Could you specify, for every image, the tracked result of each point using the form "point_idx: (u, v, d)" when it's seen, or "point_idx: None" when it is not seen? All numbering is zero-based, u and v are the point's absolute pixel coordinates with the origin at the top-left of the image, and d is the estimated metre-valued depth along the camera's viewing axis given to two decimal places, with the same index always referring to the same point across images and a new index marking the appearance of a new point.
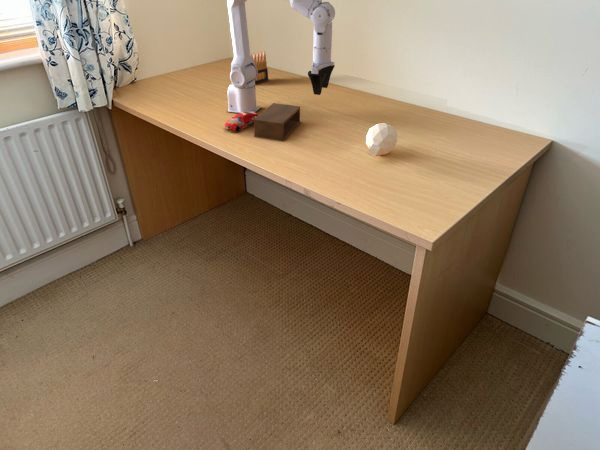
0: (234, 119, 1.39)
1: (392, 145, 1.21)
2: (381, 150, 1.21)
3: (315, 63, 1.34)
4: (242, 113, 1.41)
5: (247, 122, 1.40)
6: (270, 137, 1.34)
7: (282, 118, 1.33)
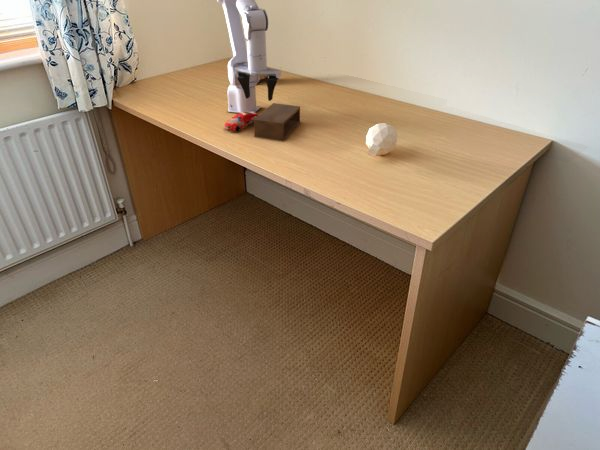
0: (234, 119, 1.39)
1: (392, 145, 1.21)
2: (381, 150, 1.21)
3: None
4: (242, 113, 1.41)
5: (247, 122, 1.40)
6: (270, 137, 1.34)
7: (282, 118, 1.33)
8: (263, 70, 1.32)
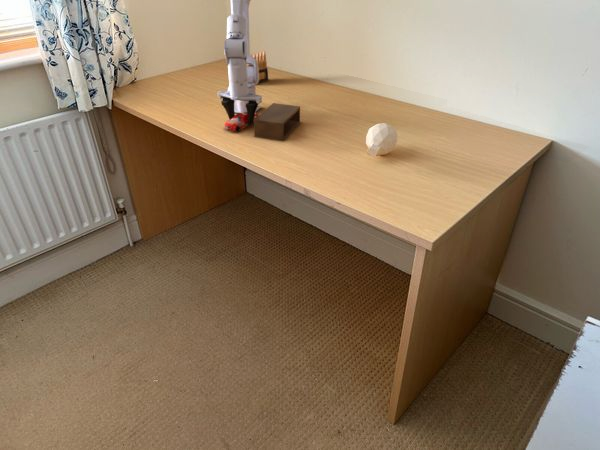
0: (234, 119, 1.39)
1: (392, 145, 1.21)
2: (381, 150, 1.21)
3: None
4: (242, 113, 1.41)
5: (247, 122, 1.40)
6: (270, 137, 1.34)
7: (282, 118, 1.33)
8: (244, 95, 1.35)
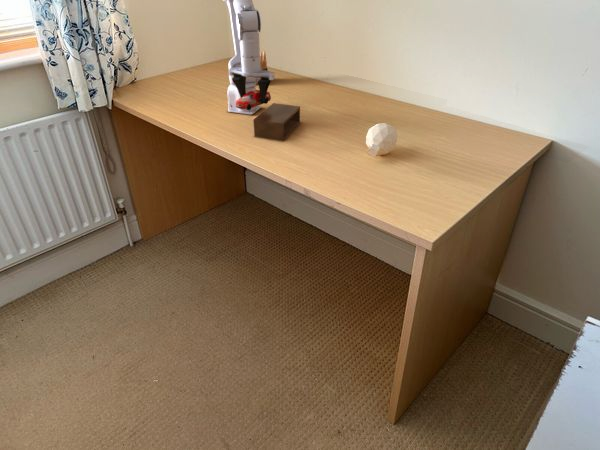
0: (245, 97, 1.34)
1: (392, 145, 1.21)
2: (381, 150, 1.21)
3: None
4: (254, 91, 1.36)
5: (259, 100, 1.35)
6: (270, 137, 1.34)
7: (282, 118, 1.33)
8: (256, 72, 1.29)
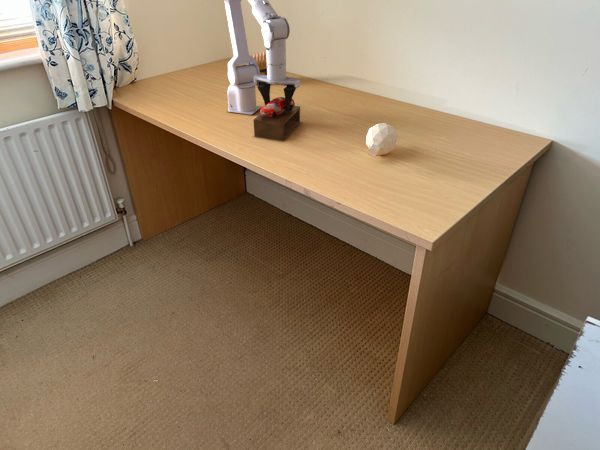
0: (270, 104, 1.34)
1: (392, 145, 1.21)
2: (381, 150, 1.21)
3: None
4: (278, 98, 1.35)
5: (284, 108, 1.35)
6: (270, 137, 1.34)
7: (282, 118, 1.33)
8: (282, 79, 1.29)
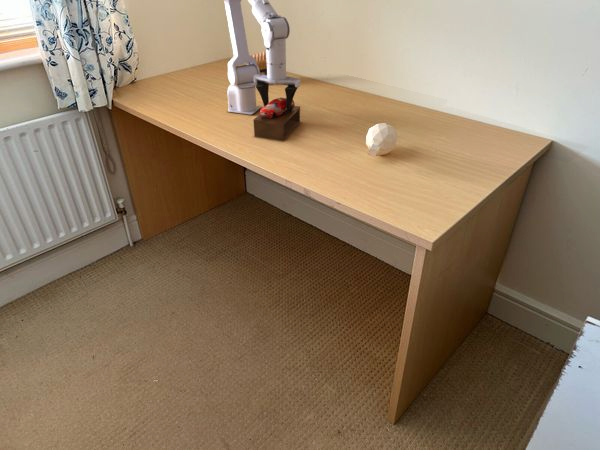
0: (270, 105, 1.34)
1: (392, 145, 1.21)
2: (381, 150, 1.21)
3: None
4: (278, 99, 1.36)
5: (284, 108, 1.35)
6: (270, 137, 1.34)
7: (282, 118, 1.33)
8: (282, 79, 1.29)
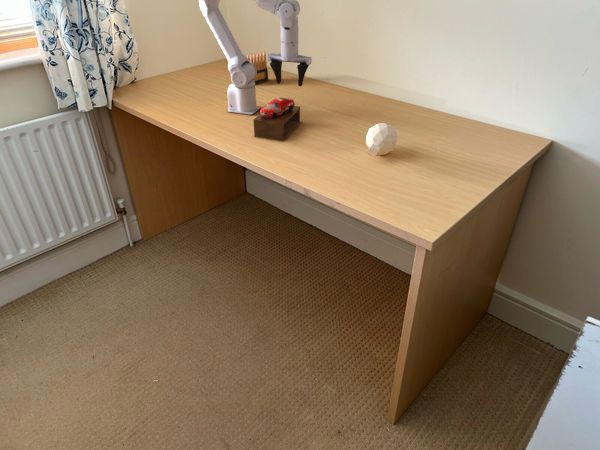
0: (270, 105, 1.34)
1: (392, 145, 1.21)
2: (381, 150, 1.21)
3: None
4: (278, 99, 1.36)
5: (284, 108, 1.35)
6: (270, 137, 1.34)
7: (282, 118, 1.33)
8: (294, 57, 1.39)
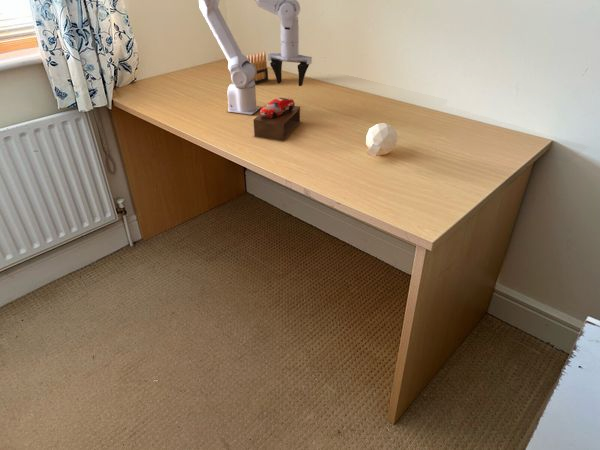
0: (270, 105, 1.34)
1: (392, 145, 1.21)
2: (381, 150, 1.21)
3: None
4: (278, 99, 1.36)
5: (284, 108, 1.35)
6: (270, 137, 1.34)
7: (282, 118, 1.33)
8: (295, 56, 1.39)
